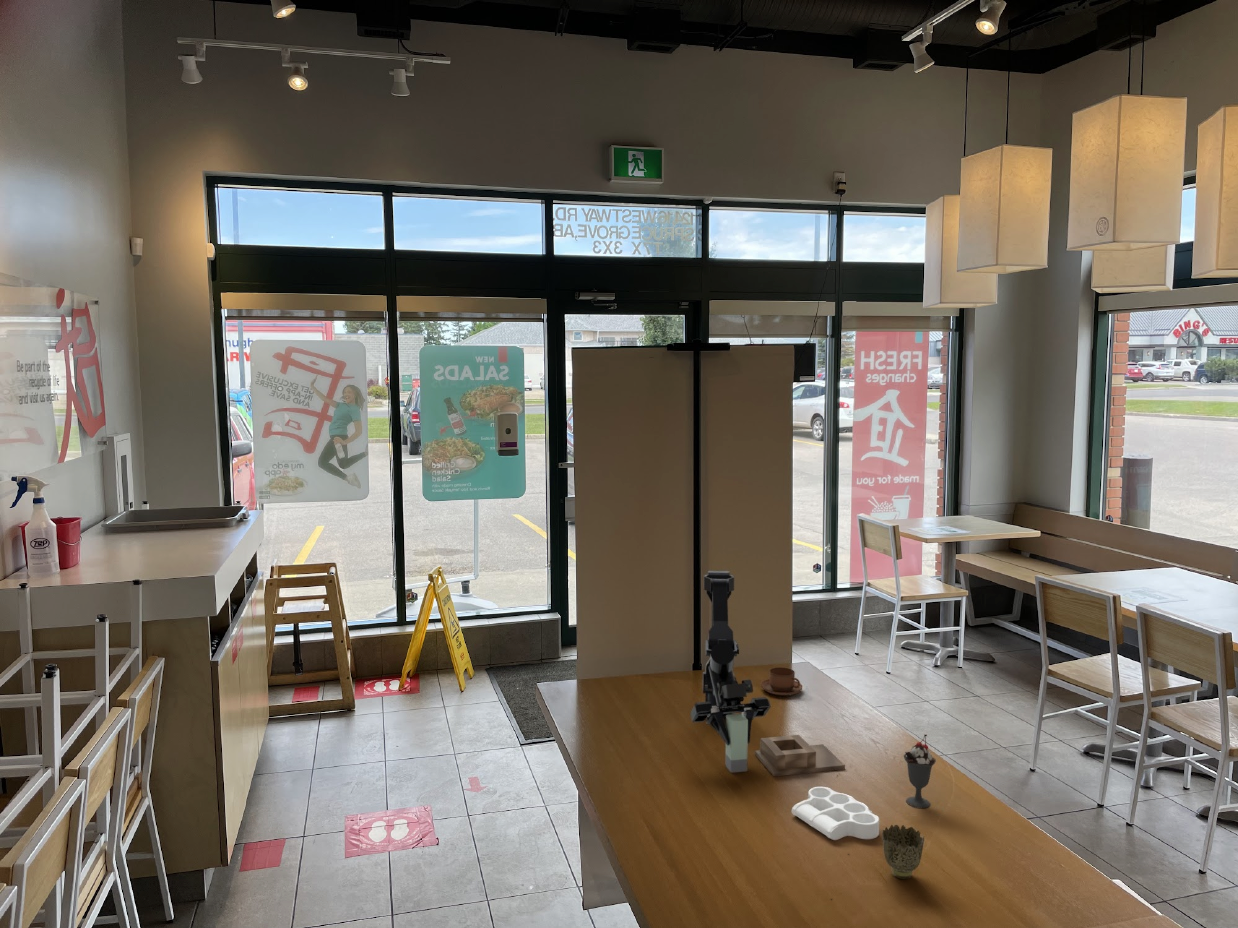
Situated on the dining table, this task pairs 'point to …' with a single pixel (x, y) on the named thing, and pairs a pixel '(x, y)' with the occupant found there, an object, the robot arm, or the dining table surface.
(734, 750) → the sage green square pillar
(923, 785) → the sundae
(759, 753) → the wooden socket base
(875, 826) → the white brass knuckles
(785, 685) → the cup and saucer
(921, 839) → the cup
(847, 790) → the dining table surface
